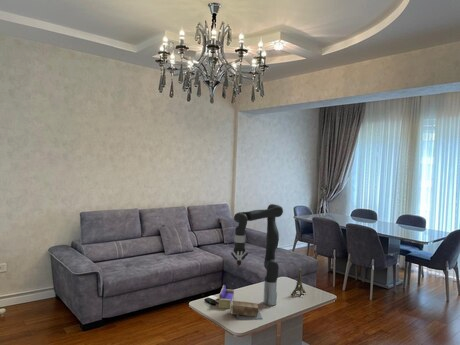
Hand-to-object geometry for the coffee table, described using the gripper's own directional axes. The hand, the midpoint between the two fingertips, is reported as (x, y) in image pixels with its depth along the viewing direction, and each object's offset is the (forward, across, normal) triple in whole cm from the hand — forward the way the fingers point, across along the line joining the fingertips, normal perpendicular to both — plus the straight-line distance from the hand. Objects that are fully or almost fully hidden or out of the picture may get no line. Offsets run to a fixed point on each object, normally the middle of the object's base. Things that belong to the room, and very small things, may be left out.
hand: (238, 265), depth 245 cm
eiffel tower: (+33, -56, -31) cm, 73 cm away
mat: (+33, -7, +7) cm, 34 cm away
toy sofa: (+33, +6, -14) cm, 36 cm away
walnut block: (+27, +5, +6) cm, 28 cm away
